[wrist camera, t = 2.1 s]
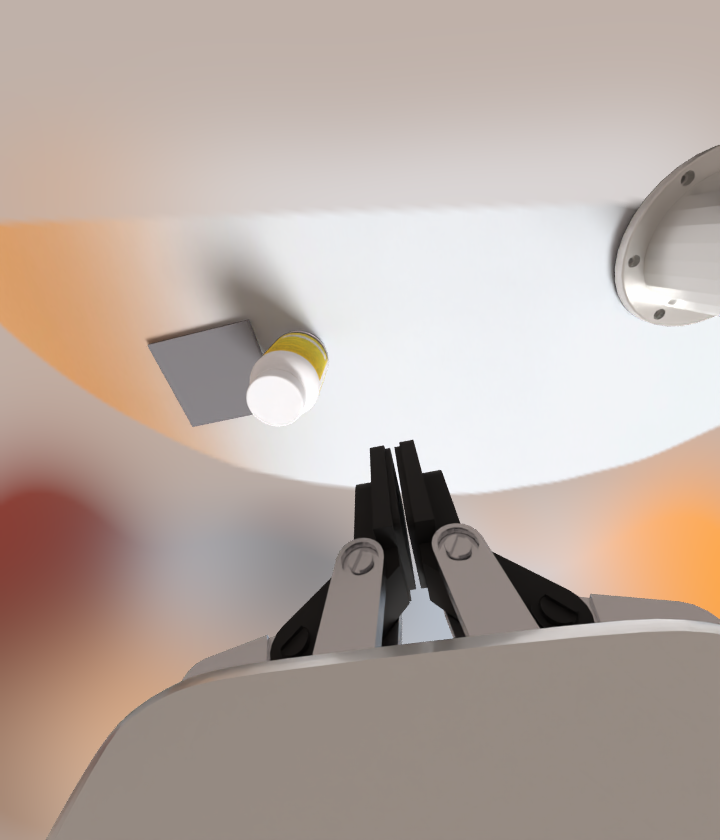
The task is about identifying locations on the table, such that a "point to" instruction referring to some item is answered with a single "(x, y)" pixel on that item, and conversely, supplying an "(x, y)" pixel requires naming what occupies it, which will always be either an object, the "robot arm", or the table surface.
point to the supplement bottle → (287, 378)
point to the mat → (210, 371)
